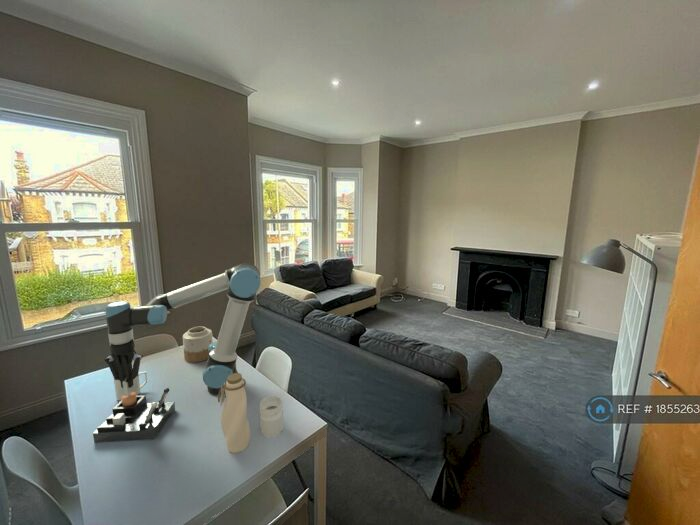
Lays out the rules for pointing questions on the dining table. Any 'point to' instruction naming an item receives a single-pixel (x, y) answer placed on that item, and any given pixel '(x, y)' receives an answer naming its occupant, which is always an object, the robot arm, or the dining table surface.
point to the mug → (135, 387)
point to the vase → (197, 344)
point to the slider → (119, 419)
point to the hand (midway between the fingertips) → (128, 394)
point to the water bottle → (234, 413)
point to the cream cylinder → (271, 416)
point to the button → (129, 400)
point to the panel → (134, 422)
